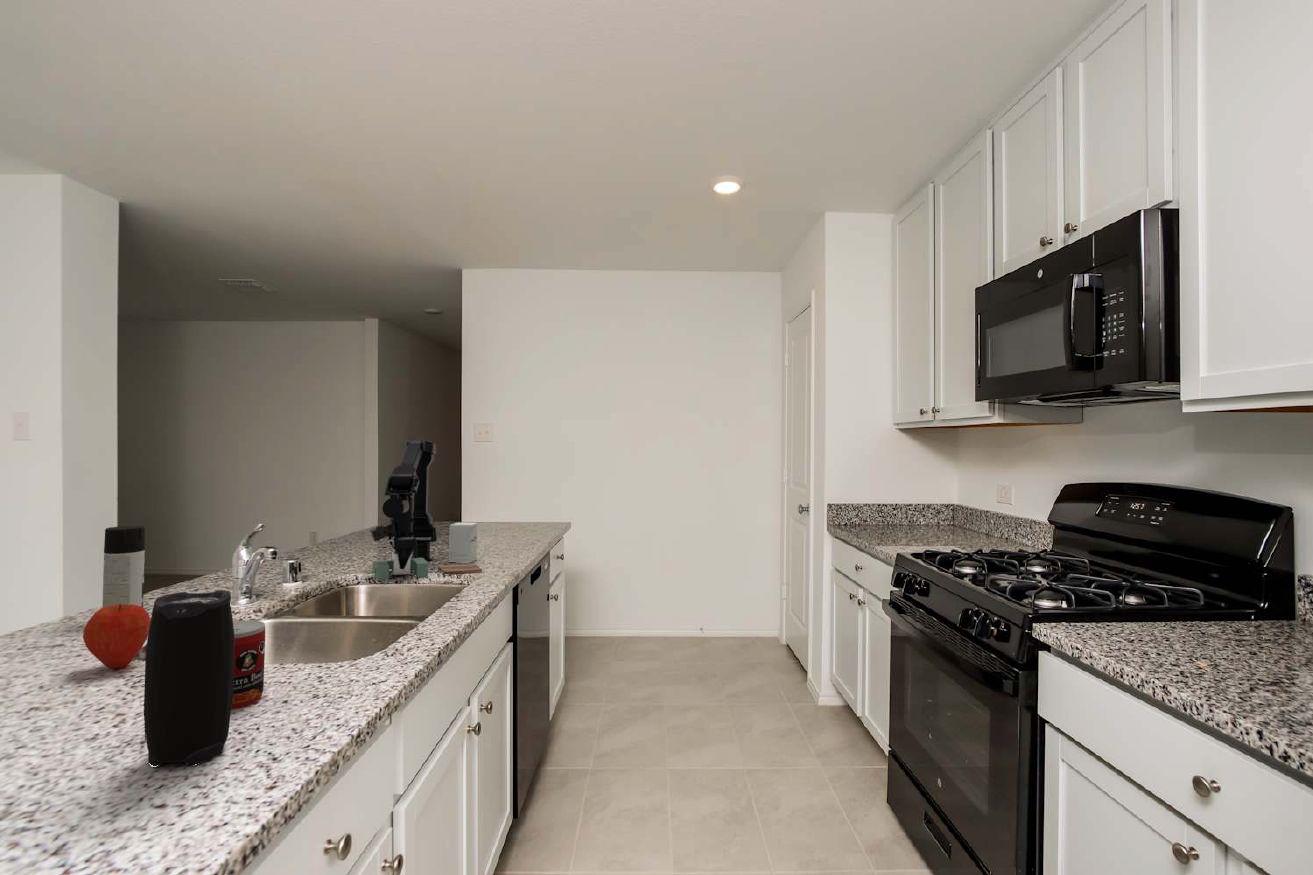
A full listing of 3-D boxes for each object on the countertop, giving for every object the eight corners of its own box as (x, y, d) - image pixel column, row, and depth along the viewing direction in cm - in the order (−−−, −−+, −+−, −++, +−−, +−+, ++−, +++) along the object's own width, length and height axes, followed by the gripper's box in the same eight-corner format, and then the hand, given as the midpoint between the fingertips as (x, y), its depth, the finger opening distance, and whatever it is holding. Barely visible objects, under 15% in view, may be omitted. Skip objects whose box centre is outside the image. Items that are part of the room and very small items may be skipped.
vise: (363, 571, 189) (364, 558, 189) (420, 567, 196) (420, 554, 196) (367, 581, 175) (367, 567, 175) (427, 576, 183) (428, 563, 183)
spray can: (149, 620, 134) (152, 526, 135) (111, 628, 128) (114, 530, 129) (132, 615, 137) (135, 524, 138) (94, 623, 131) (97, 527, 131)
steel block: (391, 572, 185) (392, 551, 185) (408, 570, 187) (408, 550, 187) (393, 574, 181) (394, 554, 181) (410, 573, 183) (410, 553, 183)
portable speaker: (240, 733, 83) (245, 586, 84) (214, 768, 74) (220, 603, 75) (163, 741, 81) (168, 589, 81) (127, 778, 72) (133, 607, 72)
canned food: (217, 716, 88) (219, 637, 89) (191, 702, 93) (193, 628, 93) (274, 698, 95) (276, 625, 95) (247, 686, 99) (249, 616, 99)
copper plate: (437, 568, 195) (438, 565, 195) (473, 566, 201) (473, 562, 201) (444, 575, 186) (444, 571, 186) (481, 572, 191) (481, 569, 191)
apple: (70, 678, 101) (72, 611, 101) (101, 661, 109) (103, 598, 109) (133, 674, 103) (135, 608, 103) (159, 657, 111) (161, 596, 112)
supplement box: (470, 563, 205) (471, 525, 205) (447, 563, 205) (448, 524, 205) (477, 559, 212) (478, 522, 212) (455, 559, 212) (456, 521, 212)
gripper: (369, 512, 189) (368, 564, 189) (375, 519, 172) (373, 575, 172) (409, 510, 194) (408, 561, 194) (418, 517, 178) (416, 572, 178)
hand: (401, 567), depth 184 cm, fingers closed on steel block, 4 cm apart
